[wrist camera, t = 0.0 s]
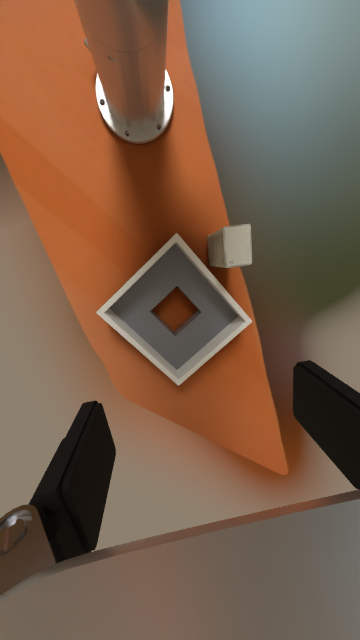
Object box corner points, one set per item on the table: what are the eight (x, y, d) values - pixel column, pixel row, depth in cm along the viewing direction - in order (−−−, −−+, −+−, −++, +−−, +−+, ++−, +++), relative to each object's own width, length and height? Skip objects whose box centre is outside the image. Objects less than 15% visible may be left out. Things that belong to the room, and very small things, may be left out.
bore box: (105, 304, 45) (96, 312, 39) (173, 236, 43) (176, 232, 36) (175, 369, 51) (178, 385, 45) (239, 312, 49) (252, 321, 42)
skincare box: (228, 263, 46) (253, 265, 34) (208, 266, 45) (225, 269, 34) (226, 232, 44) (252, 223, 32) (205, 234, 43) (223, 226, 32)
